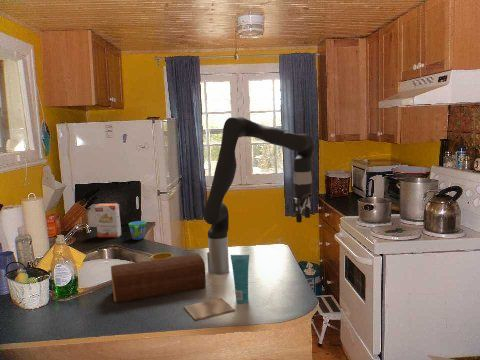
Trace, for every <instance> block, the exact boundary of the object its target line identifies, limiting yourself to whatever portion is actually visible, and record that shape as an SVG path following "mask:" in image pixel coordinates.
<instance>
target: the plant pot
mask: <svg viewBox="0 0 480 360" xmlns="http://www.w3.org/2000/svg"><path fill="white" fill-rule="evenodd" d="M172 257H174V254H173V253H171V252H160V253H154V254H153V255H151V256H150V261H151V260H157V259H165V258H172Z"/></svg>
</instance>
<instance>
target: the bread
mask: <svg viewBox="0 0 480 360" xmlns="http://www.w3.org/2000/svg"><path fill="white" fill-rule="evenodd" d="M110 272H111V273H110V274H111V285H112V286H111V287H112V293H113V294H112V295H113V301H114V302H115V303H116V304H118V303H122V302H123V303H125V302H130V301H137V300H141V299H142V300H143V299H148V298H155V297H159V296H165V295H171V294H179V293H183V292H184V291H185V292H190V291H196V290H201V289H205V288H206V287H207V279H206V277H207V276H206V265H205V261H204V259H203V257H202V256H201V255H200V253H192V254H190V253H189V254H185V255H184V254H183V255H180V256H173V257H172V258H165V259H157V260H151V259H150V260H144V261H143V260H142V261H137V262H129V263H122V264H114V265H111V266H110Z"/></svg>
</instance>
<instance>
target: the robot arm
mask: <svg viewBox="0 0 480 360" xmlns="http://www.w3.org/2000/svg"><path fill="white" fill-rule="evenodd" d="M222 128H223V129H222V135H221V144H220V148H219V154H218V157H217V161H216V164H215V169H214V173H213V179H212V184H211V187H210V190H209V191H210V192H209V194H208V198H207V200H206V203H205V206H204V208H203V219H204V221H205V222H206V224H209V225H211V226H210V228H209V229H208V231H207V243H208V252H207V253H206V258H207V271H208V273H211V274H212V275H224V274H227V273H229V272H230V266H229V265H230V264H229V262H230V261H229V245H228V244H229V243H228V240H229V239H228V232H229V223H230V222H229V215H230V214H229V210H228V206H226V204H225V203H224V202H223V201H224V199H225V196H226V194H227V193H228V191H229V189H230V187H231V186H232V184H233V182H234V179H235V176H236V171H237V158H236V148H237V144H238V140H239V138H242V137H243V138H244V137H248V138H255V139H259V140H261V141H263V142H266V143H268V144H271V145H275V146H278V147H283V148H286V149H288V150H291V151H293V152H297V153H296V157H295V158H294V160H293V193H294V194H295V195H296V197H293V198H292V199H293V202H292V204H293V205H292V206H293V207H292V208H293V209H292V211H293V213H294V214H295V215H296V216H295V217H296V221H295V222H296V223H300V224H301V223H302V222H303V214H302V213H303V210H304V218H305V219H310V218H311V209H312V207H313V193H312V192H313V184H312V183H313V177H312V163H311V162H312V156H313V151H314V140H313V138H312V136H311V135H310V134H308V133H293V132H290V131H289V130H287V129H284V128H283V129H282V128H277V127H273V126H269V125H263V124H260V123H258V122H254V121H252V120H250V119H248V118H245V117H243V116H231V117H230V116H229V118H226V119H225V122H224V124H223V127H222Z"/></svg>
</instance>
